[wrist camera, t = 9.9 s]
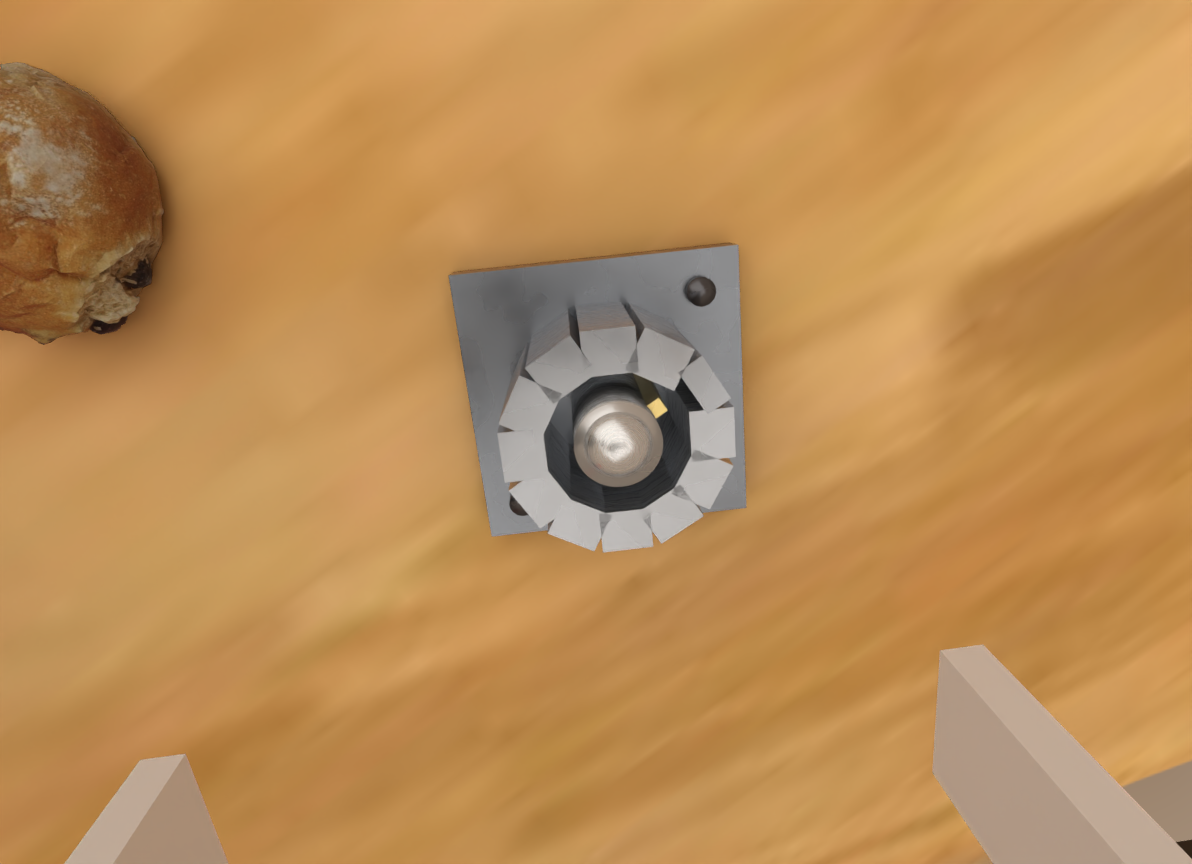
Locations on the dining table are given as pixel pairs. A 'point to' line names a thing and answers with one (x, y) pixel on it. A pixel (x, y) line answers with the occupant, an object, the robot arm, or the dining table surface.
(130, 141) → the bread roll
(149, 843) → the robot arm
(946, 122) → the dining table surface
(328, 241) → the dining table surface
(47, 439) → the dining table surface
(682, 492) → the tube
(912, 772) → the dining table surface
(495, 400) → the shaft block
